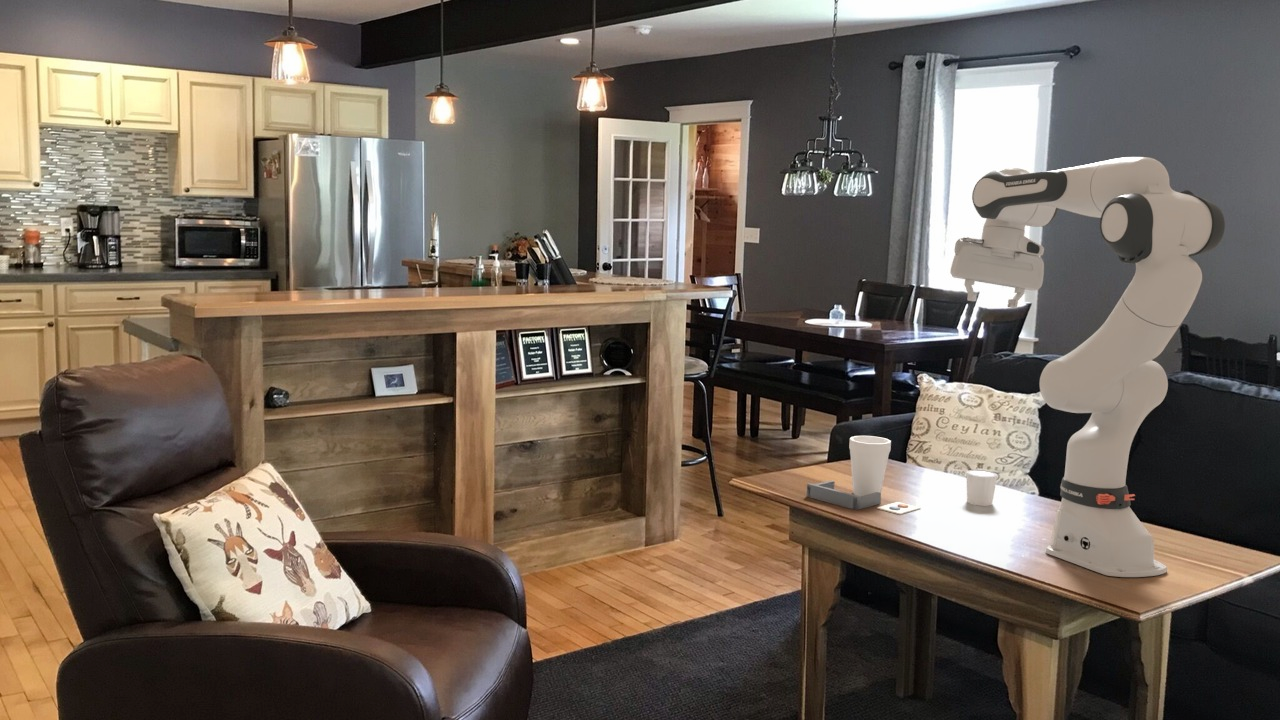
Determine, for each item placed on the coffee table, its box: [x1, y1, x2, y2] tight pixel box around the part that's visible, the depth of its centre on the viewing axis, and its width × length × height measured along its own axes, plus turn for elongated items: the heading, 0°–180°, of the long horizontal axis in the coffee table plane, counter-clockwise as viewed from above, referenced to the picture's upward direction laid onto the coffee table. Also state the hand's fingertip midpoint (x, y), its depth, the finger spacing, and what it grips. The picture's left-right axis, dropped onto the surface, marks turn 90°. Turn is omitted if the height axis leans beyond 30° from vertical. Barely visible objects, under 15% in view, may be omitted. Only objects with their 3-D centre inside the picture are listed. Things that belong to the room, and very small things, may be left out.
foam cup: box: [848, 435, 892, 496], centre depth 248 cm, size 10×9×13 cm
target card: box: [876, 501, 921, 516], centre depth 237 cm, size 8×6×1 cm
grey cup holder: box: [806, 480, 882, 511], centre depth 242 cm, size 9×14×3 cm, turn 43°
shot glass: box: [966, 469, 998, 507], centre depth 244 cm, size 7×7×7 cm
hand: (991, 304), depth 236 cm, fingers open, 8 cm apart
